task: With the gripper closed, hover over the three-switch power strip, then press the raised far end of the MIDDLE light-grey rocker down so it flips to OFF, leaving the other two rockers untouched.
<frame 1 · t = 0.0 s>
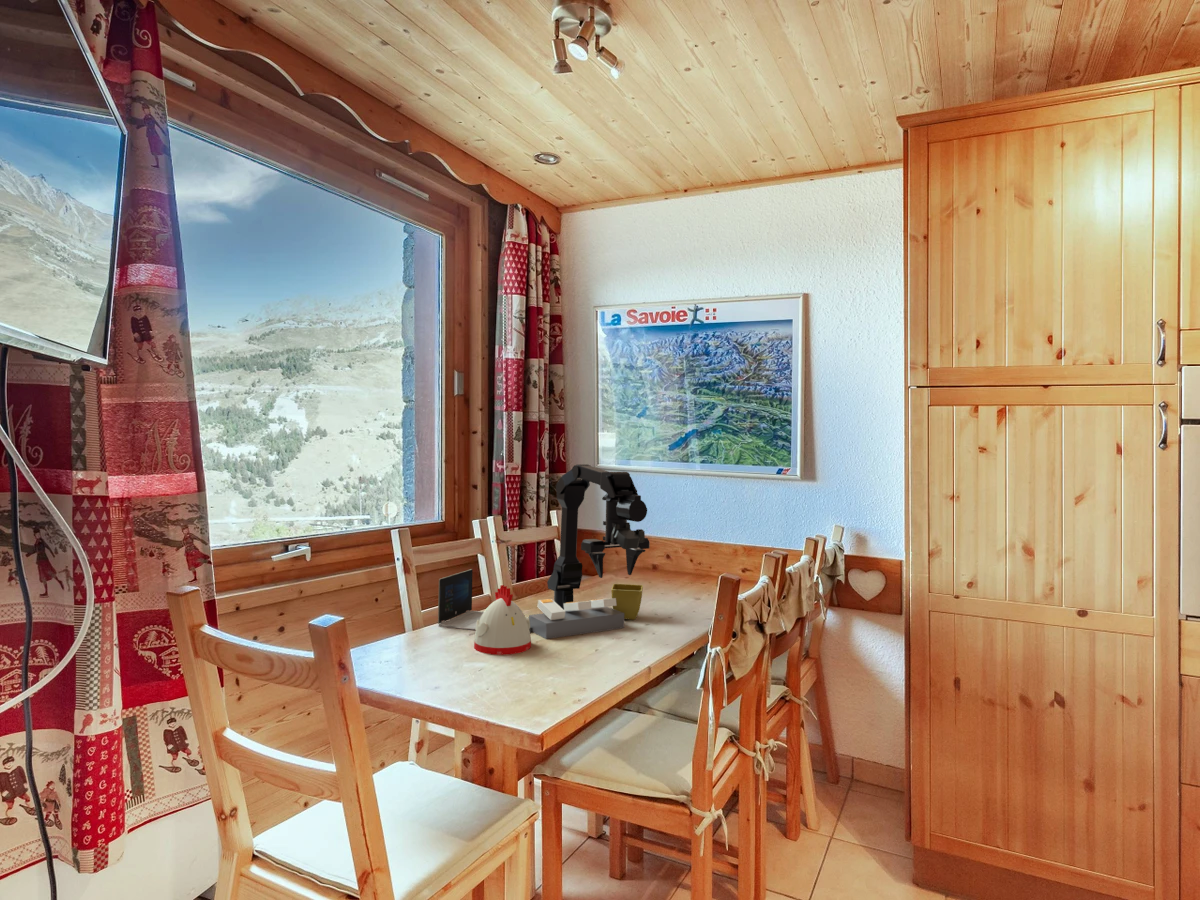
hand: (615, 576, 193), 15 cm above the table, fingers open, 9 cm apart
laptop: (474, 622, 201), on the table
power strip: (576, 628, 194), on the table
rocker c: (602, 602, 198), point 6 cm above the table, hinge at -13.0°
flower pot: (626, 618, 207), on the table
rocker b: (577, 605, 194), point 6 cm above the table, hinge at -13.0°
kitchen timer: (502, 647, 176), on the table
rocker a: (551, 608, 190), point 6 cm above the table, hinge at 13.0°
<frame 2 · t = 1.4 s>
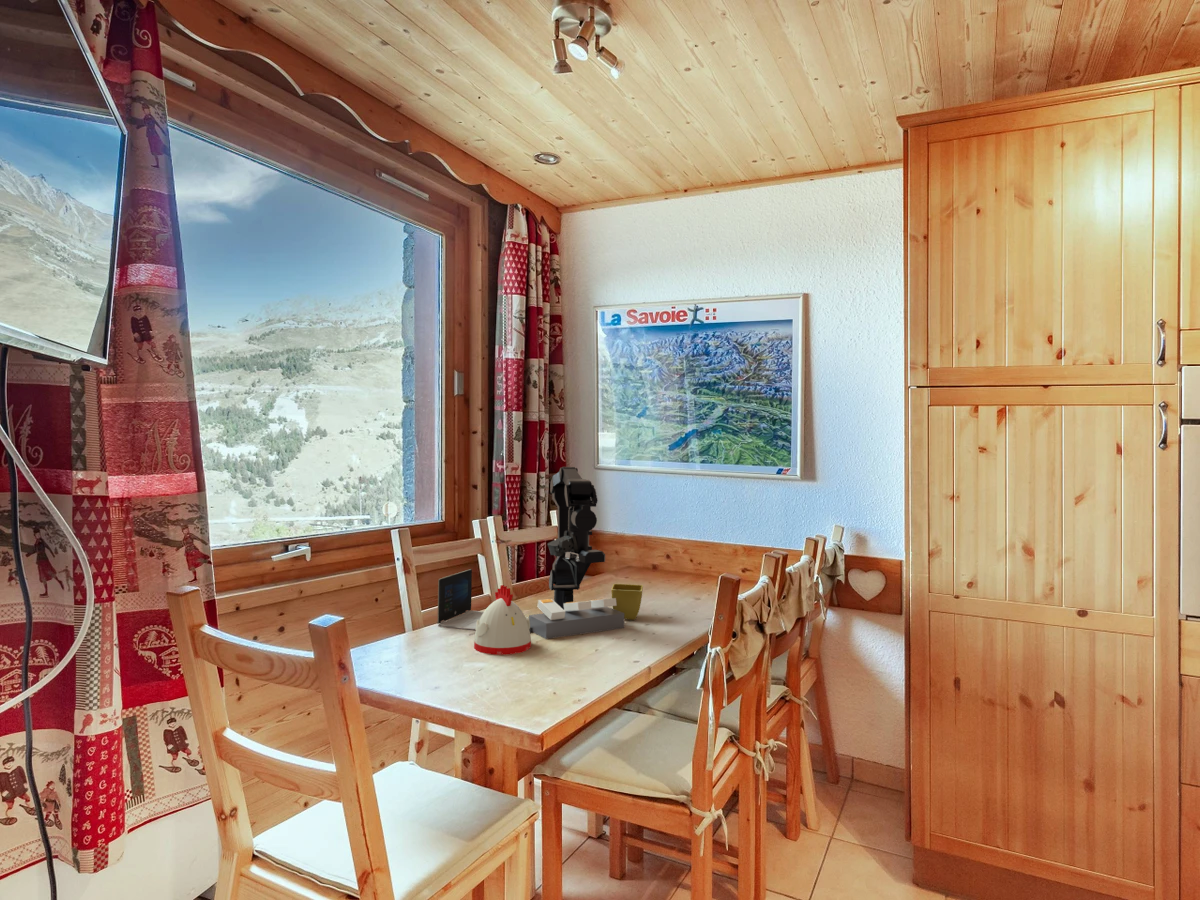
hand: (577, 584, 194), 12 cm above the table, fingers closed
nothing on the table moved.
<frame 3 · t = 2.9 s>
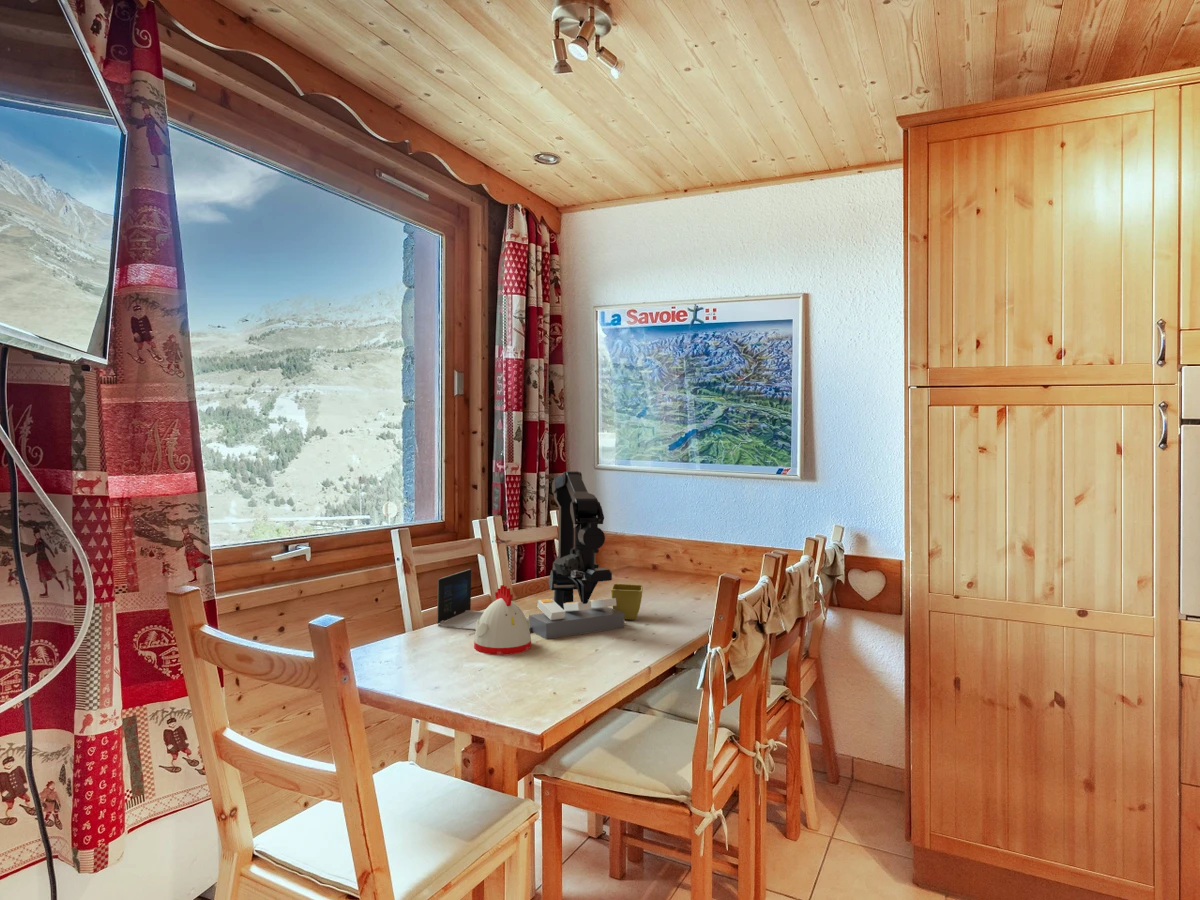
hand: (584, 603, 191), 8 cm above the table, fingers closed
rocker b: (577, 605, 194), point 6 cm above the table, hinge at -12.9°, touching gripper
everything else where it was.
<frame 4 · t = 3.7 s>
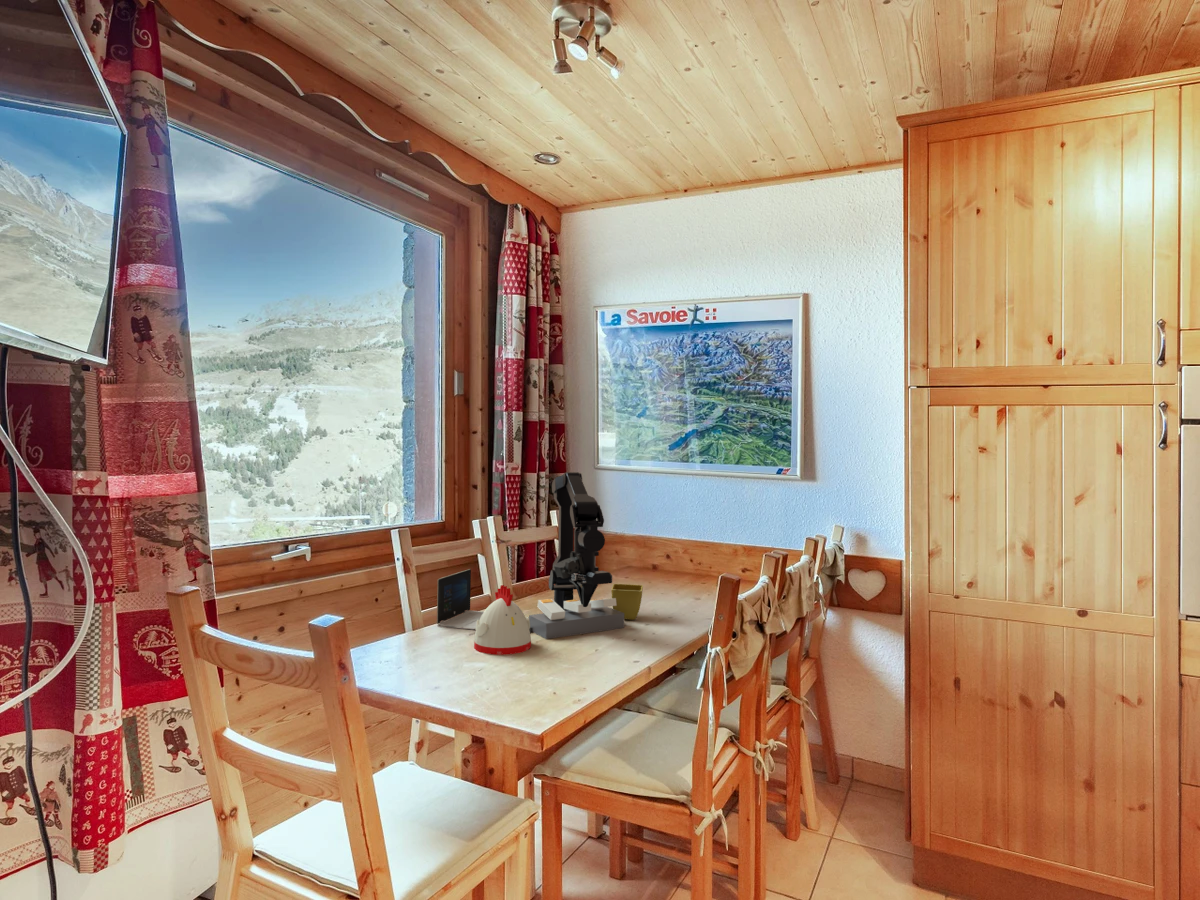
hand: (584, 606, 191), 7 cm above the table, fingers closed, pressing on rocker b
rocker b: (577, 605, 194), point 6 cm above the table, hinge at -4.0°, touching gripper
everything else where it was.
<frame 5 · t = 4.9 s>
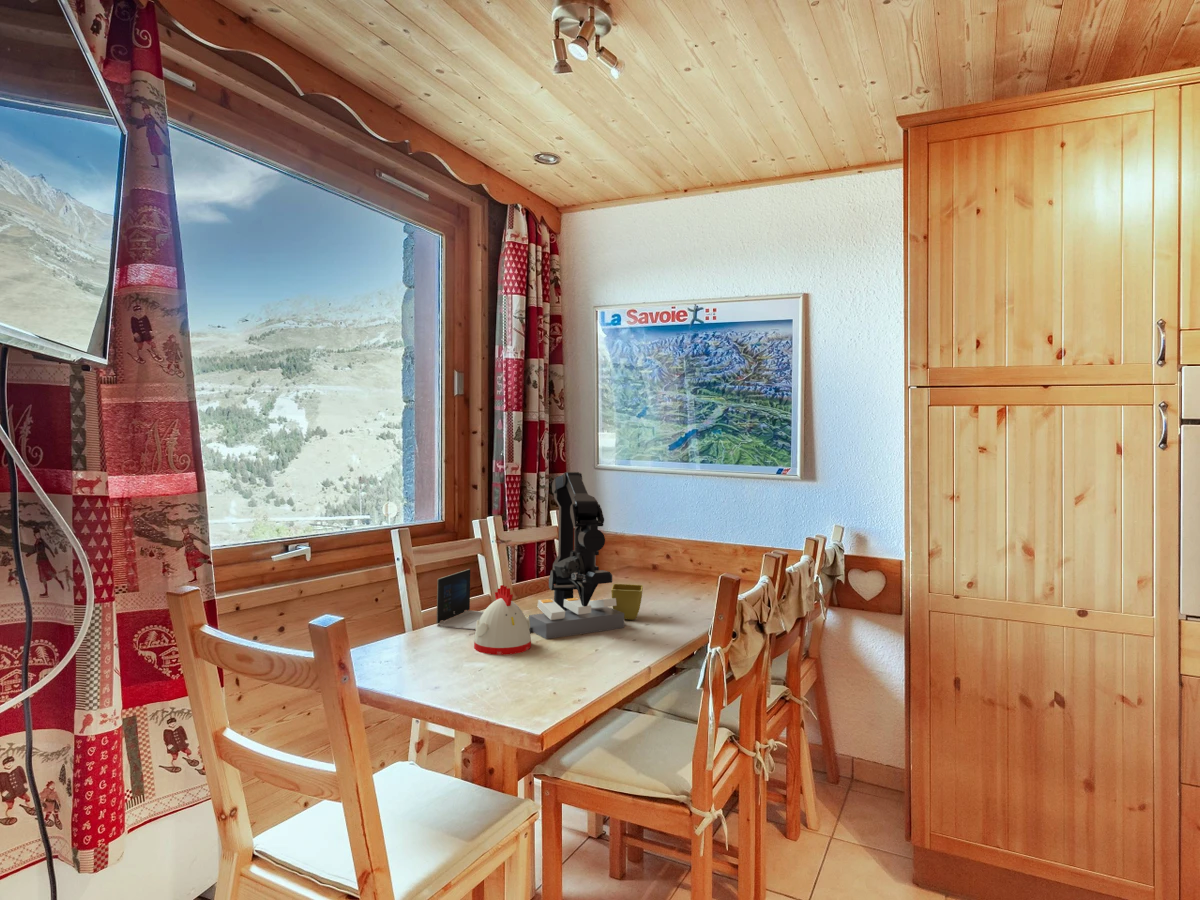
hand: (584, 605, 191), 7 cm above the table, fingers closed
rocker b: (577, 605, 194), point 6 cm above the table, hinge at 3.9°
everything else where it was.
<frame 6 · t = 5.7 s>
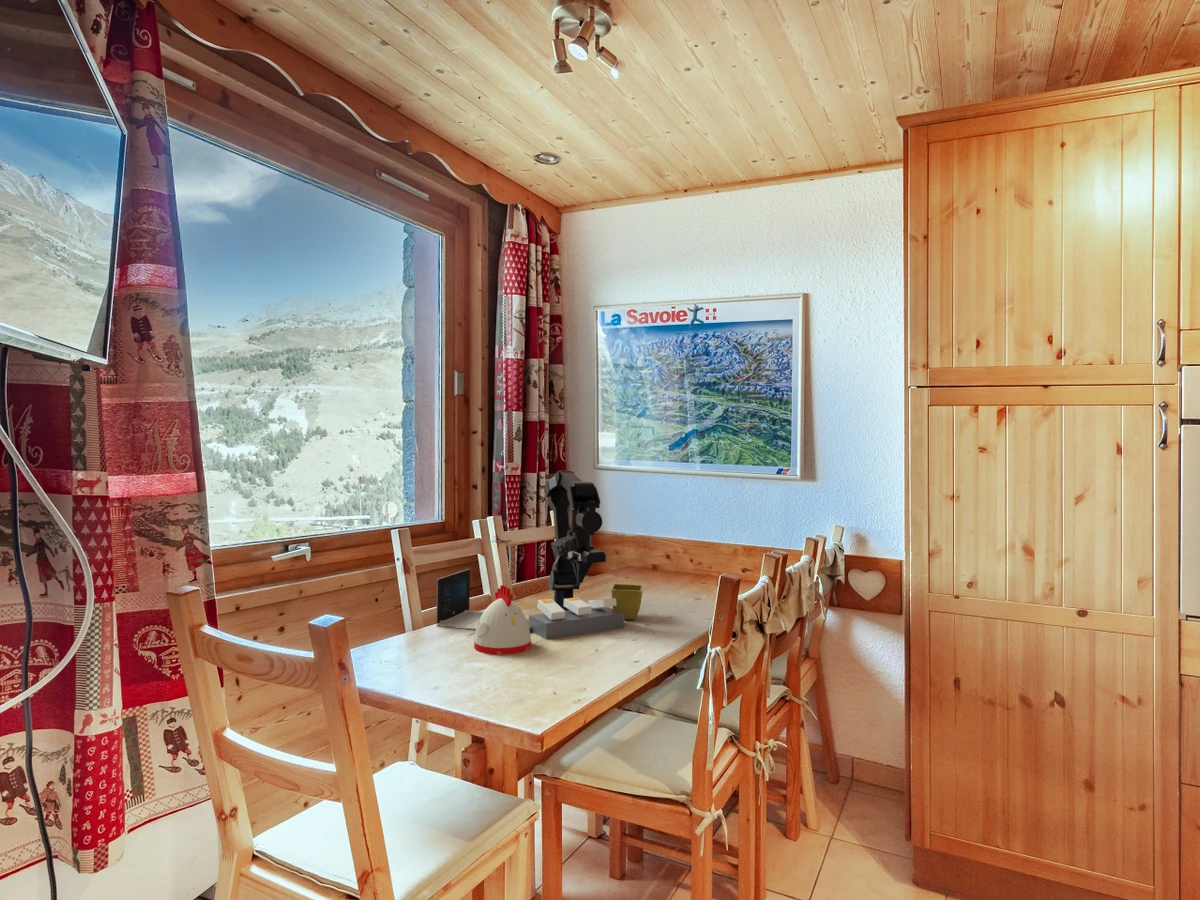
hand: (579, 582, 201), 11 cm above the table, fingers closed
rocker b: (577, 605, 194), point 6 cm above the table, hinge at 6.0°
everything else where it was.
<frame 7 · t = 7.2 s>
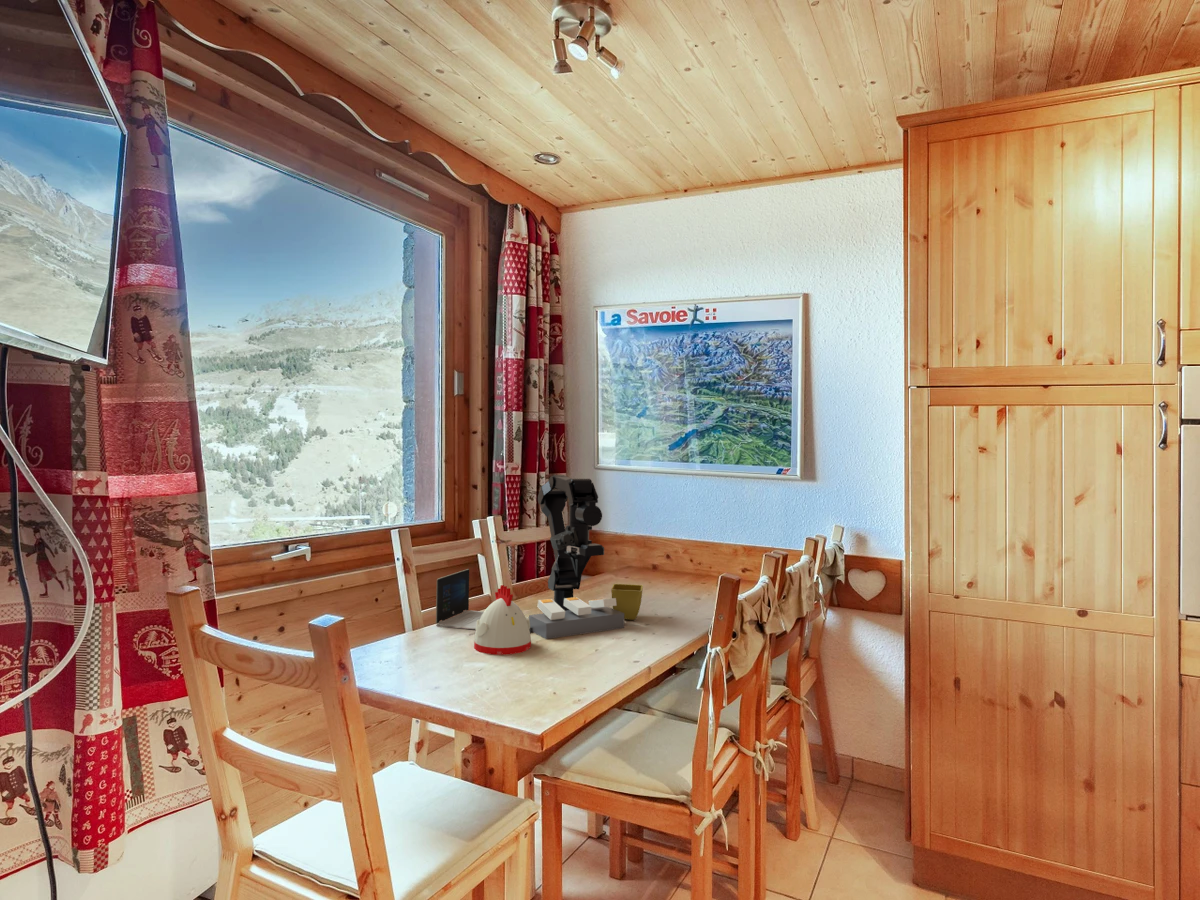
hand: (578, 576, 206), 12 cm above the table, fingers closed
rocker b: (577, 605, 194), point 6 cm above the table, hinge at 7.5°
everything else where it was.
at the end: rocker b at +8° (first picture: -13°); rocker a at +13° (first picture: +13°); rocker c at -13° (first picture: -13°) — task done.
